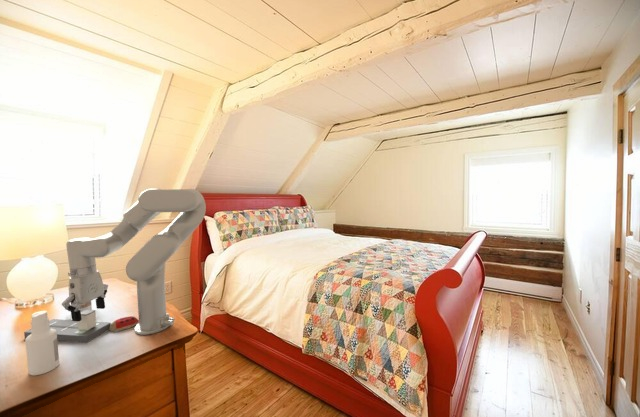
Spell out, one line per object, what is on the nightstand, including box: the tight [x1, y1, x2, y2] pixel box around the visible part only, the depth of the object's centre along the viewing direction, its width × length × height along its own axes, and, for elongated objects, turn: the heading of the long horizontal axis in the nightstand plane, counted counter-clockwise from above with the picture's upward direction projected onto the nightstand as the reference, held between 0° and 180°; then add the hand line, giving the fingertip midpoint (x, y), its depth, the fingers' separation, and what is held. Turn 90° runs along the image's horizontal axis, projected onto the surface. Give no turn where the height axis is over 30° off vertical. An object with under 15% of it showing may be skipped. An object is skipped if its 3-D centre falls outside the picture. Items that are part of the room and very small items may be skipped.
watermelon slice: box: [108, 315, 139, 332], centre depth 111 cm, size 7×10×4 cm
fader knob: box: [78, 309, 97, 330], centre depth 104 cm, size 4×4×6 cm
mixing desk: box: [23, 318, 112, 344], centre depth 106 cm, size 26×10×3 cm, turn 84°
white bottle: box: [24, 310, 60, 376], centre depth 85 cm, size 7×7×18 cm
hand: (89, 314), depth 105 cm, fingers open, 9 cm apart
